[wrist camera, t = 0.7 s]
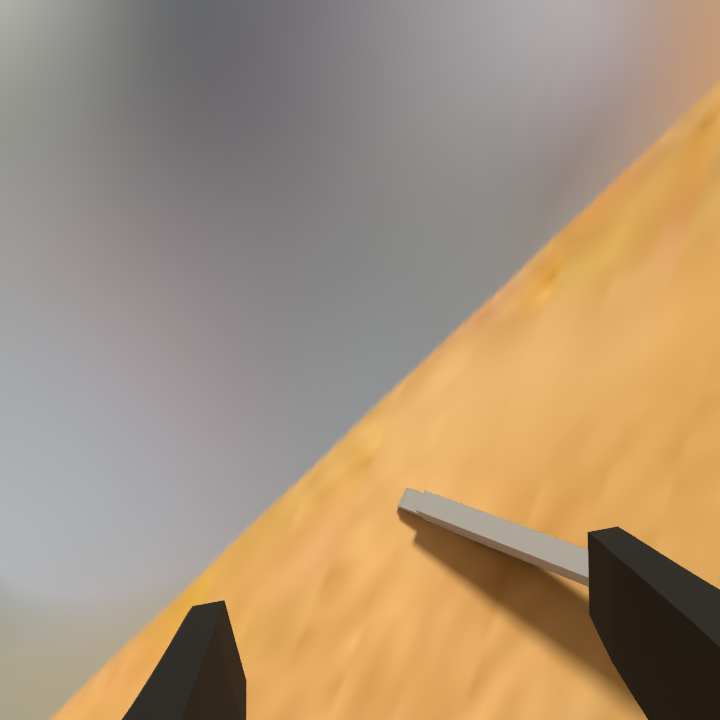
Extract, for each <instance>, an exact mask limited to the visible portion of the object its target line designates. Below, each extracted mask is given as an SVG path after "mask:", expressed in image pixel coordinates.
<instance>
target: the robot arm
mask: <svg viewBox="0 0 720 720" xmlns="http://www.w3.org/2000/svg"><path fill="white" fill-rule="evenodd" d="M588 569H589V614H590V617H591V619H592V621H593V623H594V625H595V627H596V629H597V632H598V634H599V636H600V638H601V640H602V642H603V644H604V646H605V648H606V650H607V652H608V654H609V656H610V658H611V660H612V662H613V664H614V666H615V667H616V669H617V671H618V672H619V674H620V676H621V677H622V679H623V680H624V682H625V684H626V685H627V687H628V688H629V690H630V692H631V693H632V695H633V696H634V698H635V699H636V701H637V703H638V704H639V706H640V707H641V709H642V710H643V712H644V714H645V715H646V717H647V718H648V720H720V589H718V588H716V587H714V586H713V585H711V584H709V583H708V582H706V581H704V580H703V579H701V578H699V577H698V576H696V575H694V574H693V573H691V572H689V571H688V570H686V569H685V568H683V567H681V566H680V565H678V564H677V563H675V562H673V561H672V560H670V559H669V558H667V557H665V556H664V555H662V554H661V553H659V552H658V551H656V550H654V549H653V548H651V547H650V546H648V545H647V544H645V543H643V542H642V541H640V540H639V539H637V538H636V537H634V536H632V535H631V534H629V533H628V532H626V531H624V530H623V529H621V528H619V527H613V528H608V529H602V530H597V531H592V532H588ZM122 720H246V678H245V674H244V671H243V667H242V663H241V660H240V656H239V653H238V649H237V645H236V642H235V638H234V634H233V631H232V627H231V623H230V620H229V616H228V612H227V609H226V605H225V601H218V602H213V603H208V604H202V605H197V606H193V607H192V608H191V609H190V611H189V612H188V613H187V615H186V617H185V619H184V620H183V622H182V624H181V626H180V627H179V629H178V631H177V633H176V634H175V636H174V638H173V640H172V641H171V643H170V645H169V646H168V648H167V650H166V651H165V653H164V655H163V656H162V658H161V660H160V661H159V663H158V665H157V666H156V668H155V670H154V671H153V673H152V674H151V676H150V678H149V679H148V681H147V682H146V684H145V685H144V687H143V689H142V690H141V692H140V693H139V695H138V697H137V698H136V700H135V701H134V703H133V704H132V706H131V707H130V709H129V710H128V712H127V713H126V714H125V716H124V717H123V719H122Z"/></svg>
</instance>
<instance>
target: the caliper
mask: <svg viewBox="0 0 720 720" xmlns="http://www.w3.org/2000/svg"><path fill="white" fill-rule="evenodd" d="M397 507H398V508H400V509H402V510H405V511H407V512H410V513H412V514H415V515H417V516H420V517H422V518H423V519H424V520H426V521H429V522H431V523H433V524H435V525H438V526H440V527H442V528H444V529H447V530H449V531H451V532H453V533H456V534H458V535H461V536H463V537H466V538H468V539H471V540H473V541H476V542H478V543H481V544H483V545H486V546H488V547H491V548H493V549H496V550H498V551H501V552H503V553H506V554H508V555H511V556H513V557H516V558H518V559H521V560H523V561H526V562H528V563H531V564H533V565H536V566H538V567H541V568H543V569H546V570H548V571H551V572H553V573H556V574H558V575H561V576H563V577H566V578H568V579H571V580H573V581H576V582H578V583H581V584H583V585H586V586H588V587H589V569H588V550H587V549H584V548H582V547H579V546H576V545H573V544H571V543H568V542H565V541H562V540H560V539H557V538H554V537H552V536H549V535H546V534H543V533H541V532H538V531H535V530H532V529H530V528H527V527H524V526H521V525H519V524H516V523H513V522H510V521H508V520H505V519H502V518H499V517H497V516H494V515H491V514H488V513H486V512H483V511H480V510H477V509H475V508H472V507H469V506H466V505H464V504H461V503H458V502H455V501H453V500H450V499H447V498H444V497H442V496H439V495H436V494H433V493H431V492H428V491H424V493H422V492H420V491H417V490H414V489H411V488H410V489H409V488H406V490H405V492H404V494H403V496H402V498H401V500H400V502H399V504H398V506H397Z"/></svg>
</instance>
